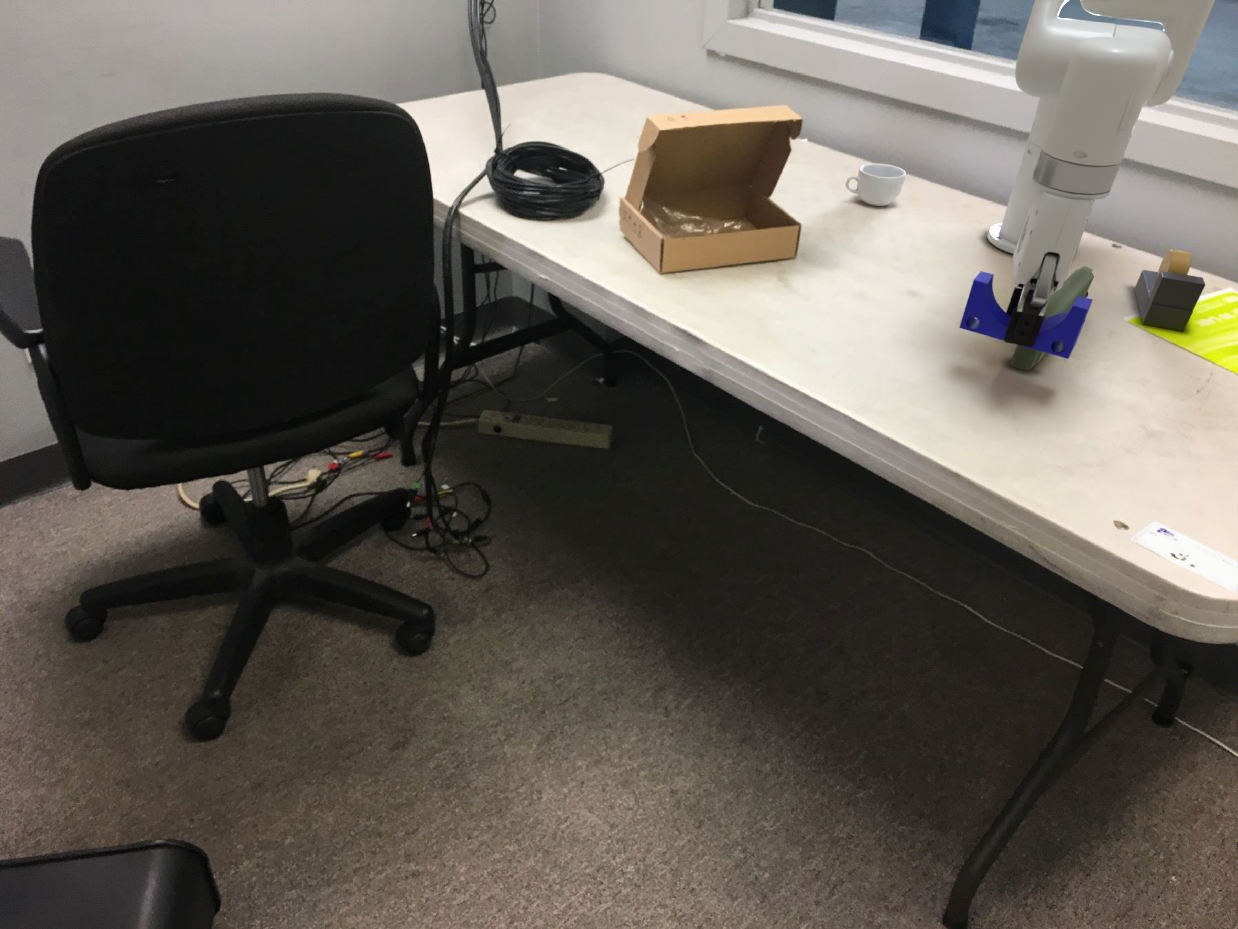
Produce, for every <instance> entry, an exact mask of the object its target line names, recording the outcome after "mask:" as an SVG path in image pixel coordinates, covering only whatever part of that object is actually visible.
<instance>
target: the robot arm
mask: <svg viewBox="0 0 1238 929" xmlns="http://www.w3.org/2000/svg"><path fill="white" fill-rule="evenodd" d="M1069 1H1070V0H1034V3H1033V6H1032V9H1031V12H1030V15H1029V19H1028V22H1027V25H1026V28H1025V31H1024V34H1023V37H1022V39H1021V40H1022V41H1021V43H1020V47H1019V50H1018V54H1017V58H1016V63H1015V70H1014V71H1015V72H1014V76H1015V82H1016V85H1017V87H1018V88H1019V90H1020V91H1022V92H1023V93H1024V94H1026V95H1028V96H1032V97H1037V98H1039V99H1038V104H1037V106H1036V111H1035V114H1034V118H1033V121H1032V125H1031V128H1030V132H1029V135H1028V138H1027V141H1026V145H1025V148H1024V151H1023V154H1022V158H1021V161H1020V164H1019V166H1018V169H1017V174H1016V177H1015V180H1014V183H1013V185H1012V190H1011V192H1010V195H1009V199H1008V202H1007V205H1006V209H1005V212H1004V215H1003V218H1002V222H1000V223H996V224H994V225H992V226H991V227H989V229H988V233H987V239H988V242H990V243H991V244H992V245H993V246H994V247H996V248H998V249H1000V250H1001V251H1004V252H1007V253H1010V254H1012V266H1011V279H1012V280H1011V281H1012V282H1013V284H1014V286H1016V287H1013V291H1012V294H1011V297H1010V300H1009V303H1008V306H1007V308H1006V311H1005V312H1006V313H1007V314H1008V315H1010V316H1011V318H1010V321H1009V324H1008V327H1007V330H1006V333H1005V336H1004V342H1005V343H1007V344H1012V345H1016V346H1017V345H1022V346H1027V347H1033V346H1034V344H1035V342H1036V339H1037V336H1038V333H1039V331H1040V328H1041V325H1042V323H1043V320H1044V317H1045V311H1046V308H1047V305H1048V302H1049V299H1050V296H1051V294H1052V293H1053V292H1055V291H1058V290H1060V289H1061V288H1062V286H1063V284H1064V282H1065V280H1066V279H1067V278H1068V275H1069V272H1070V269H1071V268H1072V264H1073V262H1074V259H1075V257H1076V255H1077V251H1078V248H1079V246H1080V243H1081V240H1082V237H1083V235H1084V232H1085V229H1086V226H1087V223H1088V222H1089V217H1090V214H1091V211H1092V209H1093V206H1094V203H1095V201H1096V200H1097V201H1098V200H1102V199H1105V198H1107V197H1109V196H1110V193H1111V190H1112V188H1113V185H1114V182H1115V180H1116V177H1117V175H1118V172H1119V170H1120V167H1121V164H1122V161H1123V159H1124V157H1125V154H1126V151H1127V148H1128V146H1129V143H1130V140H1131V138H1132V135H1133V132H1134V130H1135V127H1136V124H1137V122H1138V119H1139V117H1140V115H1141V112H1142V109H1143V107H1144V108H1155V107H1160V106H1163V105H1165V104H1166V103H1167V102H1169V101H1170V100H1171V99H1172V98H1173V97H1174V95H1175V94H1176V91H1177V90H1178V88H1179V87H1180V85H1181V83H1182V80H1183V78H1184V77H1185V74H1186V72H1187V69H1188V67H1189V64H1190V62H1191V60H1192V57H1193V54H1194V52H1195V50H1196V47H1197V45H1198V42H1199V40H1200V37H1201V35H1202V33H1203V31H1204V28H1205V27H1206V26H1205V25H1206V23H1207V21H1208V19H1209V16H1210V14H1211V11H1212V10H1213V6H1214V4H1215V1H1216V0H1079V1H1080V5H1081V7H1082V9H1083V10H1084V11H1085V12H1087V13H1089V14H1092V15H1094V16H1100V17H1106V18H1113V19H1119V20H1120V19H1121V20H1129V21H1140V22H1146V23H1147V22H1149V23H1155V24H1156V23H1157V24H1160V26H1162V28H1163V29H1161V30H1160V29H1155V28H1151V27H1144V26H1135V25H1126V24H1117V23H1113V22H1102V21H1093V20H1084V19H1077V18H1063V17H1060V16H1059V15H1060V12H1061V10H1062V8H1063V7H1064V6H1065V4H1066V3H1067V2H1069Z"/></svg>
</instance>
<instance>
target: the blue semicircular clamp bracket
mask: <svg viewBox="0 0 1238 929" xmlns="http://www.w3.org/2000/svg"><path fill="white" fill-rule="evenodd" d="M994 277H995V274H994V273H990V272H987V271H982V270H980V271H979V273H978V274H977V275H976V276H975V277H974V279H973V280H972V284H971V288H970V291H969V293H968V297H967V301H966V304H965V307H964V311H963V313H962V316H961V320H960V324H959V327H958V328H959V329H961V330H965V331H968V332H972V333H976V334H979V335H983V336H986V337H990V338H992V339H996V340H999V341H1004V336H1005V333H1006V330H1007V327H1008V324H1009V321H1010V318H1011V316H1010V315H1008V314H1007V313H1006V312H1007V311H1005V310H1004V309H1002V307H1001V306H1000V304H999V303H998V301H997V299H996V297H995V293H994V287H993V286H994V284H993V283H994V282H993V281H994ZM1092 302H1093V298H1089V297H1086V298H1085V297H1081V296H1078V297H1077V299H1076V301H1075V303H1074V304H1073V306H1072V307H1071V308H1070V309H1069V310H1068V311H1067V312H1066V313H1065V314H1063V313H1059V314H1057V315H1054V316H1051V317H1046V318H1044V320H1043V323H1042V325H1041V328H1040V331H1039V333H1038V336H1037V339H1036V342H1035V344H1034V346H1033V347H1028V348H1031V349H1035V350H1038V351H1042V352H1045V353H1046V354H1049V355H1053V356H1056V357H1060V358H1063V359H1067V360H1069V358H1070V356H1071V355H1072V352H1073V351H1074V348H1075V347H1076V344H1077V342H1078V340H1079V337H1080V334H1081V332H1082V329H1083V327H1084V325H1085V322H1086V318H1087V315H1088V314H1089V313H1088V312H1089V310H1090V308H1091V305H1092ZM1004 342H1005V341H1004ZM1021 346H1022V345H1021ZM1024 347H1027V346H1024Z"/></svg>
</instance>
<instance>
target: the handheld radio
mask: <svg viewBox="0 0 1238 929" xmlns="http://www.w3.org/2000/svg"><path fill="white" fill-rule="evenodd" d="M1093 271H1094V269H1093V268H1091V267H1088V266H1085V265H1084V266H1081V267H1080V268H1078V269H1075V270H1074V271H1073V272H1072V273H1071V274H1070V275H1069V276H1067V277H1066V279H1065V282H1064V284H1063V286H1062V288H1061V289H1060V290H1058V291H1055V292H1054V291H1052V293H1051V296H1050V299H1049V302H1048V305H1047V308H1046V311H1045V317H1044V318H1046V317H1051V316H1054V315H1057V314H1059V313H1063V314H1065V313H1066V312H1067V311H1068V310H1069V309H1070V308H1071V307H1072V306H1073V304H1074V303H1075V301H1076V299H1077V297H1078V296H1081V297H1085V298H1088V296H1089V290H1090V287H1091V285H1092V282H1093V280H1094V278H1095V275H1094V273H1093ZM1046 355H1047V353H1045V352H1042V351H1038V350H1035V349H1031V348H1028V347H1024V346H1021V345H1016V347H1015V350H1014V352H1013V354H1012V357H1011V360H1010V364H1011V366H1012V367H1014V368H1017V369H1020V370H1023V371H1029V370H1030V369H1032V367H1035V366H1036V365H1038V364H1039V363H1040V361H1041V360H1042V359H1043V358H1044V357H1045V356H1046Z"/></svg>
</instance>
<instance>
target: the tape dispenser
mask: <svg viewBox="0 0 1238 929" xmlns="http://www.w3.org/2000/svg"><path fill="white" fill-rule="evenodd" d="M1192 258H1193V257H1192V253H1191V252H1189V251H1182V250H1176V249H1169V250H1167V252H1166V253H1165V254H1164V256H1163V258H1162V260H1161V262H1160V265H1159V268H1158V271H1153V270H1147V269H1142V270H1141V272H1140V274H1139V277H1138V279H1137V282H1136V284H1135V286H1134V292H1135V297H1136V301H1137V305H1138V310H1139V311H1138V312H1139V315H1140V320H1141V323H1142V325H1145V326H1151V327H1155V328H1161V329H1167V330H1174V331H1179V332H1184V331H1185V329H1186V328H1187V325H1188V323H1189V321H1190V319H1191V317H1192V315H1193V313H1194V310H1195V307H1196V305H1197V303H1198V302H1199V299H1200V297H1201V295H1202V293H1203V291H1204V289H1205V287H1206V282H1205V279H1204V278H1203V277H1202V276H1196V275H1190V274H1189V271H1190V268H1191V265H1192Z"/></svg>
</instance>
